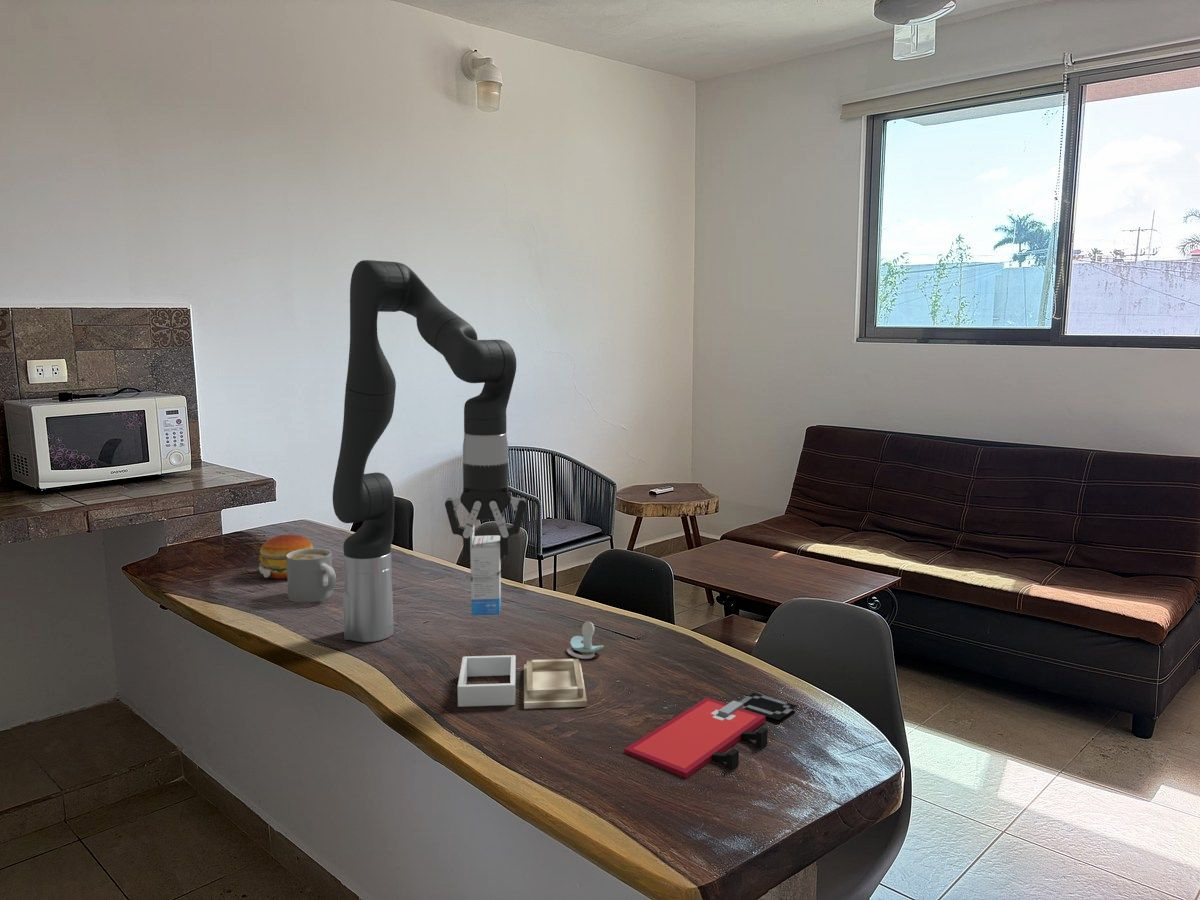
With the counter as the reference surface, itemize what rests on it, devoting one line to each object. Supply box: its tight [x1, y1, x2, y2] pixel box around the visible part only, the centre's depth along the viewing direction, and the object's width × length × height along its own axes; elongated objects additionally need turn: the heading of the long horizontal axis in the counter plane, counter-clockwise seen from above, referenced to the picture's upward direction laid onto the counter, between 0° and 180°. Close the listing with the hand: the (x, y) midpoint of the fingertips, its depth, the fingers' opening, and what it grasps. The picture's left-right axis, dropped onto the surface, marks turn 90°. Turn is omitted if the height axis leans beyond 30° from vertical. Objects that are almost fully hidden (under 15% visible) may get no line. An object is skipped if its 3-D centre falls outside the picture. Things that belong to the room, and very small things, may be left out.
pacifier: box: [566, 620, 605, 660], centre depth 167 cm, size 7×6×6 cm
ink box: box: [470, 525, 502, 616], centre depth 147 cm, size 8×5×15 cm, turn 5°
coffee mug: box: [286, 547, 337, 603], centre depth 198 cm, size 13×10×10 cm
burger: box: [258, 533, 314, 579], centre depth 216 cm, size 14×14×10 cm
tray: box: [523, 658, 588, 710], centre depth 151 cm, size 10×16×2 cm, turn 5°
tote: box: [457, 654, 517, 708], centre depth 150 cm, size 10×13×4 cm
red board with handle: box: [623, 691, 798, 779], centre depth 136 cm, size 30×3×15 cm
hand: (486, 557), depth 147 cm, fingers closed on ink box, 5 cm apart
